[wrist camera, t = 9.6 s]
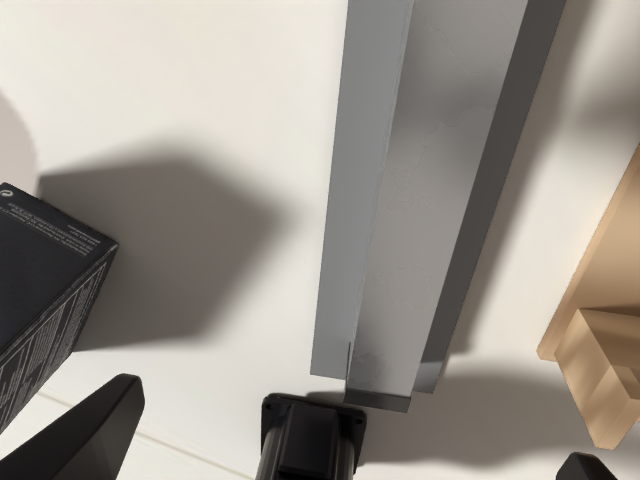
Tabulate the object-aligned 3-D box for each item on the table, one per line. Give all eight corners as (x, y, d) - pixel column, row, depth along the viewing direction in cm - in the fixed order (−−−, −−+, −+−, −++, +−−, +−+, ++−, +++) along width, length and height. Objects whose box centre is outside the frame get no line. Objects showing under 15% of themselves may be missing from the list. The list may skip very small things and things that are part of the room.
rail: (404, 363, 23) (406, 413, 21) (347, 355, 24) (342, 402, 21) (555, -199, 12) (605, -248, 9) (439, -206, 12) (456, -257, 9)
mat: (431, 387, 25) (432, 393, 24) (310, 369, 25) (309, 374, 25) (661, -297, 11) (670, -306, 10) (381, -313, 11) (381, -322, 11)
